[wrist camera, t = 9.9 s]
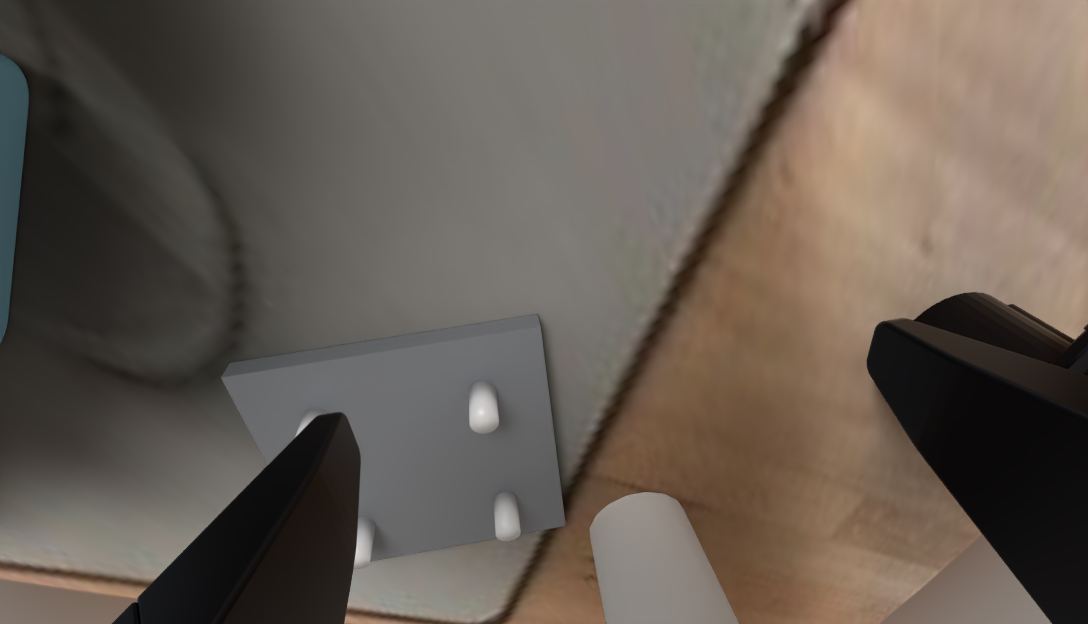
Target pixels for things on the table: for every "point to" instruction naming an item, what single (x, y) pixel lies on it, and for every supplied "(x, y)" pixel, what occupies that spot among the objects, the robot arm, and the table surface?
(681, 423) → the table surface
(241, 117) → the table surface
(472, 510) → the pin tray
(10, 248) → the data package
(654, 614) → the white cup
